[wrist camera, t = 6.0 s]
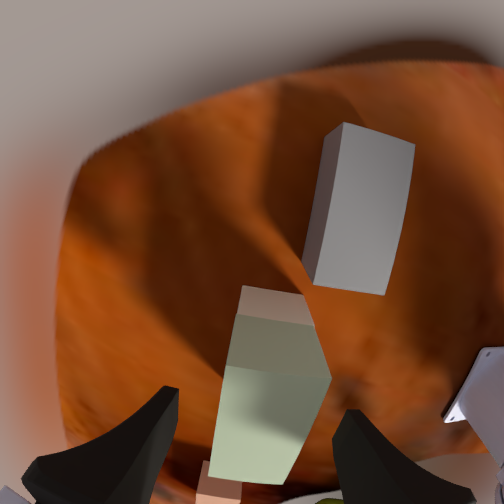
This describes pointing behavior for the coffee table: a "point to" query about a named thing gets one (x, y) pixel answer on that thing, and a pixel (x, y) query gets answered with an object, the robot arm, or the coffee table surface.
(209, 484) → the brick terracotta
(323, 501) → the dumbbell
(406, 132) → the coffee table surface
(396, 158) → the brick charcoal
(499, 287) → the coffee table surface
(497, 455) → the robot arm
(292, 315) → the brick cream
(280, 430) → the brick sage
